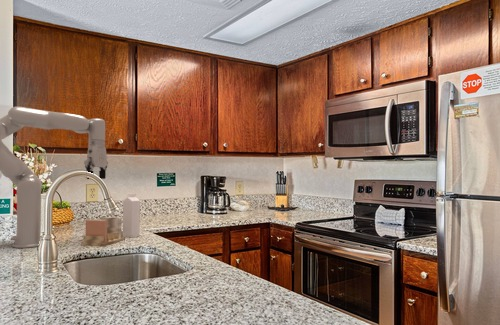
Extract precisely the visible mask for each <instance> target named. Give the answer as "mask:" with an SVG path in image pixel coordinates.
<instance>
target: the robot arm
mask: <svg viewBox="0 0 500 325" xmlns="http://www.w3.org/2000/svg"><path fill="white" fill-rule="evenodd" d="M24 127H29V128H35V129H42V130H55V129H56V130H57V129H58V130H67V131H73V132H74V133H77V134H88V148H87V153H86V154H87V155H86V160H84V162H83V164H84V168H85V171H86V172H87V171H88V172H91V173H93V174H94V168H98V169H99V172H98V173H99V174H98V178H99V177H100V178H101V180H102V179H103V180H105V179H106V176H107V175H106V174H107V173H106V171H107V168H108V165H109V162H108V159H107V158H108V157H107V156H108V154H107V148H106V121H105V120H104V119H103V118H90V119H88V118H86V117H85V116H84V115H80V114H73V113H67V112H66V113H65V112H57V111H56V112H55V111H52V110H51V111H50V110H43V109H37V108H31V107H25V106H12V107H11V108H10V109H9V110H8V112H7V114H6V115H5V116H3V117H1V118H0V173H1V174H2V175H3V176H4V177H5V178H7V179H8V180H9V181H11V182H12V183H13V185H14V186H16V235H12V237H10V241H14V243H12V248H16V249H27V248H35V247H39V246H38V244H39V241H41V236H42V235H41V233H42V232H41V230H42V229H41V228H42V227H41V226H42V223H41V222H42V218H41V217H42V189H43V183H42V181H41V179H40V178H39V177H38V176H37V175H36V174H35V173H34V171H33V170H32V169H30V167H29V166H28V165H27V164H26V163H25V162H24V160H22V159H20V158H18V157H17V156H16V155H15V154H14V153H13V152H12V151H11V150H10V149H9V147H7V145H6V144H5V143H4V142H3V141H2V140H4V139H6V138H8V137H9V136H12V135H13V134H14V133H16V132H18V131H20V130H22V128H24ZM86 180H90V179H89V178H87V177H86Z"/></svg>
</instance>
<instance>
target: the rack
mask: <svg viewBox="0 0 500 325" xmlns="http://www.w3.org/2000/svg"><path fill="white" fill-rule="evenodd" d="M100 220H106V221H107V242H106V243H104V237H102V236H86V235H83V241H82V242H80V246H87V247H88V246H89V247H91V246H92V247H107V246H109V245H112V244H116V243H119V242H122V241H125V240H126V237H123V230H122V225H123V217H120V216H119V217H117V216H116V217H114V216H113V217H112V216H102V217H100Z"/></svg>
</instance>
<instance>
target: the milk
mask: <svg viewBox="0 0 500 325" xmlns="http://www.w3.org/2000/svg"><path fill="white" fill-rule="evenodd" d="M122 204H123V205H122V206H123V208H122V214H123V215H122V231H123V237H125V238H130V239H133V238H137V236H138V237H140V229H141V228H140V225H141V224H140V220H141V219H140V218H141V212H140V211H141V200H140V199H139V198H138V197H137V194H136V193H135V194H134V193H132V194H127V197H126V198H125V199H123V203H122Z"/></svg>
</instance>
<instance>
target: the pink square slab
mask: <svg viewBox="0 0 500 325" xmlns="http://www.w3.org/2000/svg"><path fill="white" fill-rule="evenodd" d="M85 236H102V237H104V243H106V242H107V221H106V220H101V219H98V220H97V219H85Z"/></svg>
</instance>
